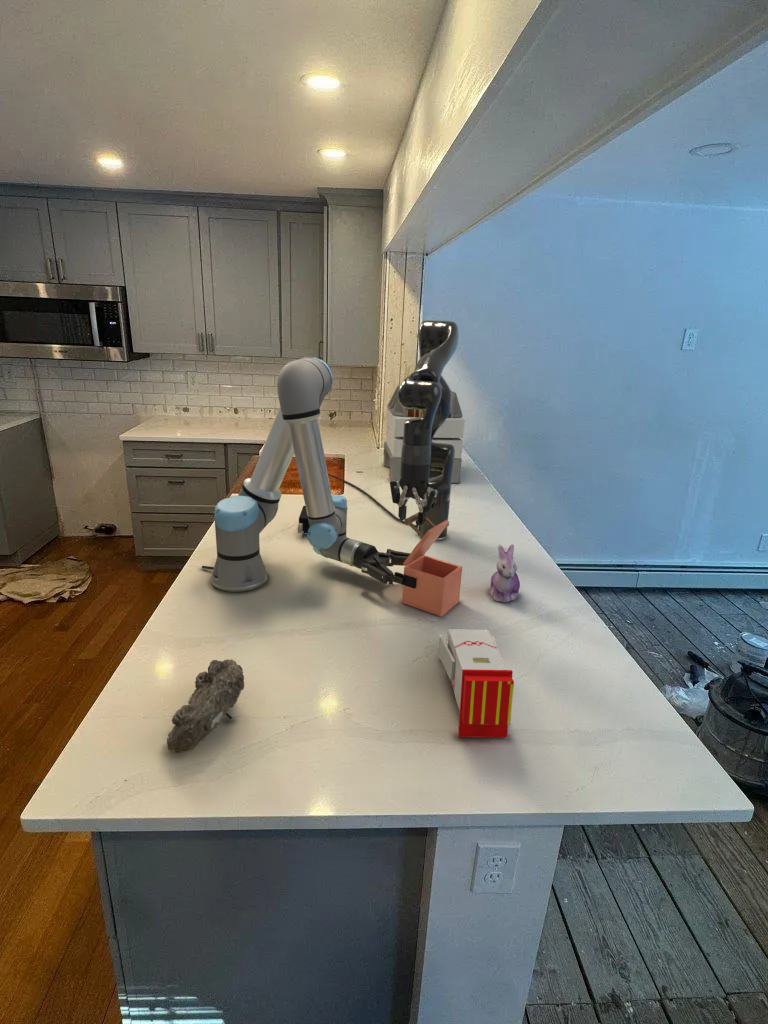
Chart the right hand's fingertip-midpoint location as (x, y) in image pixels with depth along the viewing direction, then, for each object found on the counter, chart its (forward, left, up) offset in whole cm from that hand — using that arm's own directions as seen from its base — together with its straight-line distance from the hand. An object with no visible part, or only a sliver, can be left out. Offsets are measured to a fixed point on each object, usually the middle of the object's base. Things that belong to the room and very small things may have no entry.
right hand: (411, 521), depth 151 cm
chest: (+8, 0, -22) cm, 23 cm away
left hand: (+5, 0, -15) cm, 16 cm away
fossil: (-2, -66, -22) cm, 69 cm away
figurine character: (-51, +16, -22) cm, 58 cm away
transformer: (-63, +107, -22) cm, 127 cm away
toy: (+34, -28, -22) cm, 49 cm away
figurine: (+22, +17, -22) cm, 35 cm away
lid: (+5, 0, -5) cm, 7 cm away
